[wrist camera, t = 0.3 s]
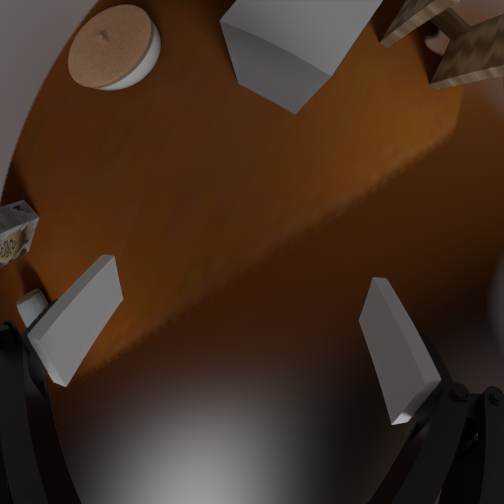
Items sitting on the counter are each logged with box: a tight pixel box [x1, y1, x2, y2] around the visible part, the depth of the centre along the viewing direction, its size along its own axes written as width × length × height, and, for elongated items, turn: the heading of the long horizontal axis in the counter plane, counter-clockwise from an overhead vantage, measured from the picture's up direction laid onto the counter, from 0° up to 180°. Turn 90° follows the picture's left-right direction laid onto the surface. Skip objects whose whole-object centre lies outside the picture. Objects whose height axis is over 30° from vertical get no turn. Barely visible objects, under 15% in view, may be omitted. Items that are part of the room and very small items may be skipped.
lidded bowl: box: [68, 4, 161, 90], centre depth 26 cm, size 13×13×11 cm
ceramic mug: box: [16, 288, 49, 328], centre depth 43 cm, size 11×8×8 cm
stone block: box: [220, 0, 383, 114], centre depth 23 cm, size 10×9×20 cm
